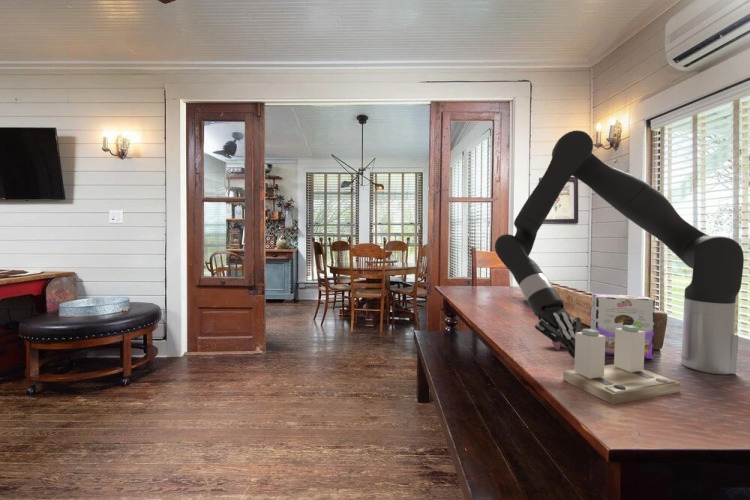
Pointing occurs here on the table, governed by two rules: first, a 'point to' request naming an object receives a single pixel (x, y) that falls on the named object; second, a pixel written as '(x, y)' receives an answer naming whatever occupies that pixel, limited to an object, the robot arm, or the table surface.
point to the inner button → (629, 348)
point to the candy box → (623, 318)
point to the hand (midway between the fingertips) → (578, 356)
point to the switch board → (623, 384)
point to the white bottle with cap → (589, 353)
